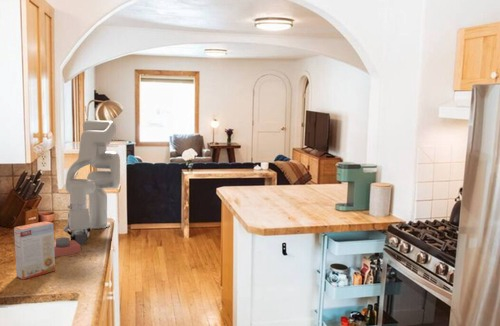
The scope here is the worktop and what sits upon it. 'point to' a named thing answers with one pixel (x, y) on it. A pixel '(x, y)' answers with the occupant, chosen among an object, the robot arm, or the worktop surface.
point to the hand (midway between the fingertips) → (79, 242)
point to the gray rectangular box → (80, 237)
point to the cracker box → (34, 249)
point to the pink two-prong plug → (66, 247)
